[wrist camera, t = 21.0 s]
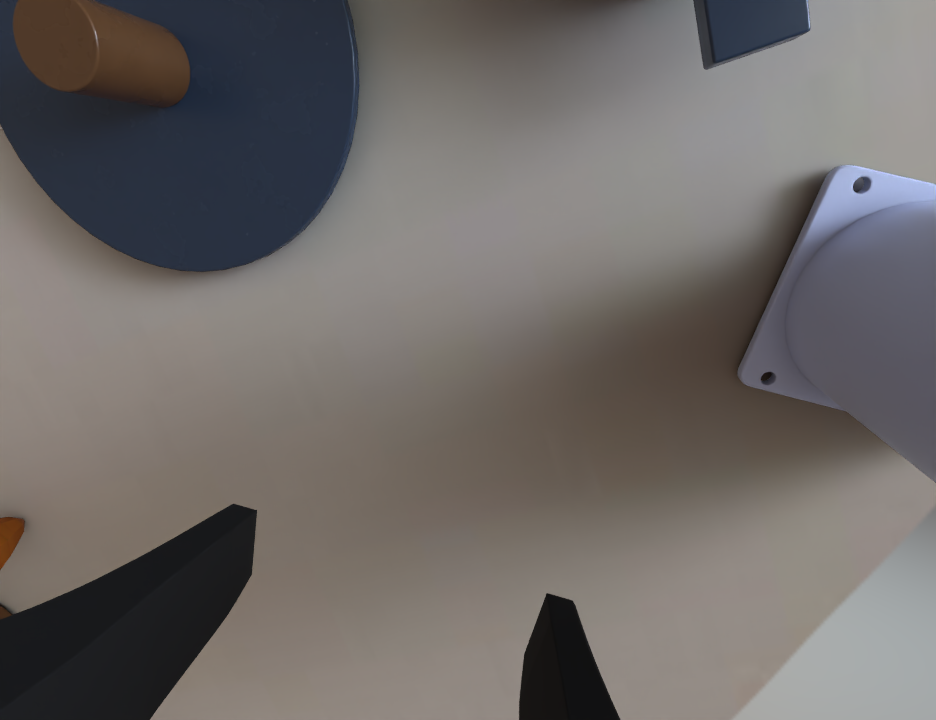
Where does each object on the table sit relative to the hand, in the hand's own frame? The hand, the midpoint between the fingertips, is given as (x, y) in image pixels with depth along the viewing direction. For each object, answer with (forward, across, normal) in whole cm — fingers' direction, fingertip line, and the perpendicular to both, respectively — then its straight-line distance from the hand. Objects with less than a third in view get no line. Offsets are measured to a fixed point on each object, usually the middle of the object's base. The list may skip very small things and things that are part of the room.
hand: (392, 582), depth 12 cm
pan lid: (+10, +13, -10) cm, 19 cm away
